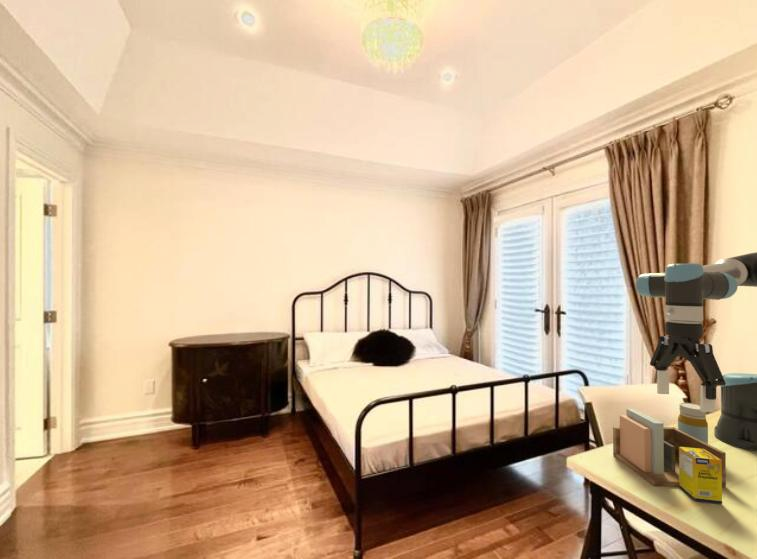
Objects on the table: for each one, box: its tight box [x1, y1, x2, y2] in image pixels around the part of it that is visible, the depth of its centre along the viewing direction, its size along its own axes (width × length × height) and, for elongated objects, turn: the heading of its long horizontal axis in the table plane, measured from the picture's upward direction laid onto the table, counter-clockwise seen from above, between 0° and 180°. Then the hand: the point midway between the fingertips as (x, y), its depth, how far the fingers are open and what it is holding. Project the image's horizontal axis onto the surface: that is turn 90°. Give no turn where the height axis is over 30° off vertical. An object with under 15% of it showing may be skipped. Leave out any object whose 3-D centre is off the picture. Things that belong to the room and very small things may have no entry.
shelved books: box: [619, 408, 665, 474], centre depth 100 cm, size 4×11×14 cm, turn 179°
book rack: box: [612, 426, 727, 488], centre depth 98 cm, size 19×16×9 cm
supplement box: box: [678, 447, 723, 505], centre depth 87 cm, size 6×6×11 cm
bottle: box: [677, 402, 709, 444], centre depth 108 cm, size 7×7×15 cm
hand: (683, 402), depth 90 cm, fingers open, 13 cm apart
